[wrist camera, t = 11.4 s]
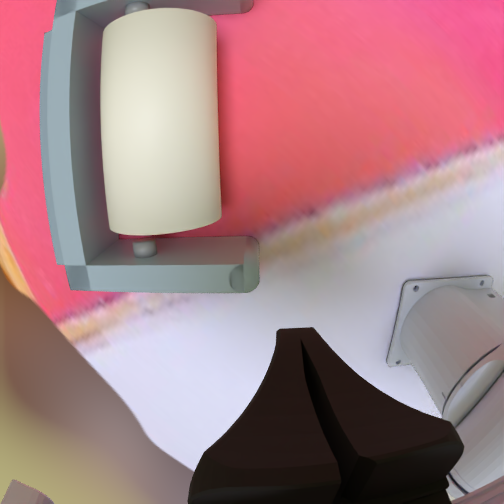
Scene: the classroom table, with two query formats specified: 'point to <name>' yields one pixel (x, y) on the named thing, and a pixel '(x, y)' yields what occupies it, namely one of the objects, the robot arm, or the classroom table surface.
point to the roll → (160, 122)
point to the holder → (92, 176)
